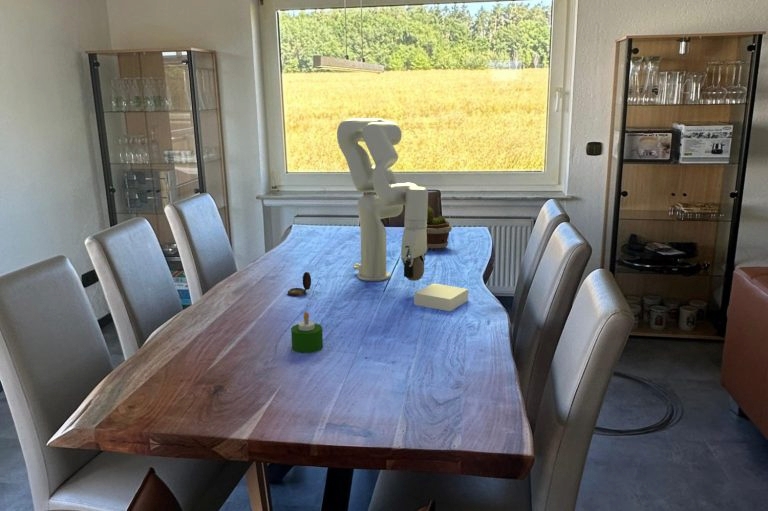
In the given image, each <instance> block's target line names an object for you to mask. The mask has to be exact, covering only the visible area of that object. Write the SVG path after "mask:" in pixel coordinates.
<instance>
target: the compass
mask: <svg viewBox="0 0 768 511" xmlns="http://www.w3.org/2000/svg"><path fill="white" fill-rule="evenodd" d="M311 285H312V276H311V274H310V272H308V271H305V272H304V273H303V276H302V286H303V288H302V287H293V288H290V289H289V290H288V291H287V295H288V296H293V297H300V296H303V295H305V294H306V291H308V290H310V289H311Z"/></svg>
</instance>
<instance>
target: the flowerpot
mask: <svg viewBox="0 0 768 511" xmlns="http://www.w3.org/2000/svg"><path fill="white" fill-rule="evenodd" d="M434 211H435V209H434V208H433V207H431V206H430V205H428V209H427V229H426V232H427V247H428V249H427V251H442V250H443V251H444V250H445V249H446V248H447V247H448V245H449V241H448V239H449V237H450V236H449V235H450V232H452V229H453V227H452V225H451V224H450V222H449V221H448V220H446V218H445V217H444V215H442V214H439V216H437V217H435V214H436V213H435V212H434Z"/></svg>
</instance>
